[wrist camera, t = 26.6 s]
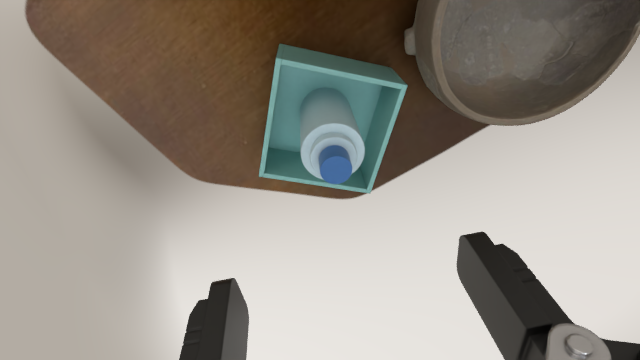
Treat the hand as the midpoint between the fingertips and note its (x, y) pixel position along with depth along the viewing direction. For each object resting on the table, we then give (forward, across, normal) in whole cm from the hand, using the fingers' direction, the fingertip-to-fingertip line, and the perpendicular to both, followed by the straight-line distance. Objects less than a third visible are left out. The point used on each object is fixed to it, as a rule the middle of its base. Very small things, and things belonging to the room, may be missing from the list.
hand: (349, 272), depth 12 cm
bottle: (+28, -2, +6) cm, 28 cm away
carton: (+28, -2, +6) cm, 29 cm away
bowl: (+28, -19, -2) cm, 34 cm away
